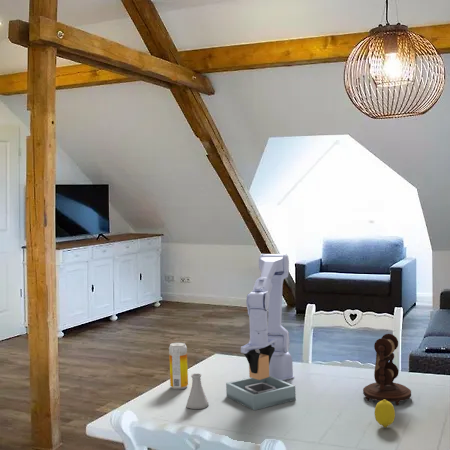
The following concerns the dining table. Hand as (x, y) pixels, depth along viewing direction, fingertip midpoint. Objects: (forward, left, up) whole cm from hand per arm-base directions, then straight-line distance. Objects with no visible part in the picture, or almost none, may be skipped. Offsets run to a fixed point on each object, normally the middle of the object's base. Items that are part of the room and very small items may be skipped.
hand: (259, 370), depth 210 cm
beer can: (+16, -26, -9) cm, 32 cm away
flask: (+20, -6, -9) cm, 23 cm away
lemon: (-14, +41, -9) cm, 44 cm away
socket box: (0, 0, -9) cm, 9 cm away
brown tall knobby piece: (-32, +24, -9) cm, 41 cm away
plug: (0, 0, -2) cm, 2 cm away
